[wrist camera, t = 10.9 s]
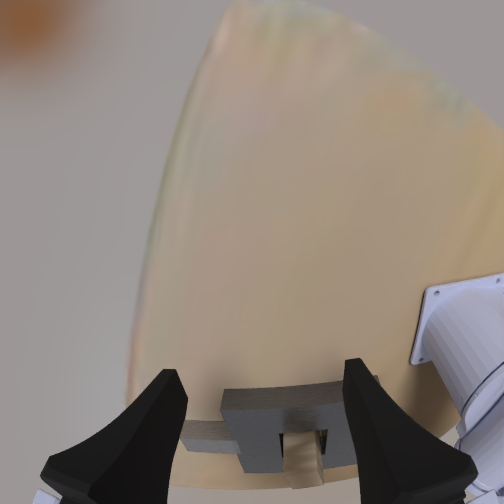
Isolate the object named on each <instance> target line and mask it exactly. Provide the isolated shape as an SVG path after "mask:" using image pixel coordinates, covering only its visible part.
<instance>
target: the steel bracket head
mask: <svg viewBox="0 0 504 504" xmlns="http://www.w3.org/2000/svg"><path fill="white" fill-rule="evenodd" d="M374 378H375V379H376V380H377V382H378V383H379V384H380V382H379V379H378V376H377V375H375V376H374ZM380 386H381V385H380ZM342 388H343V381H337V382H329V383H321V384H312V385H301V386H290V387H275V388H256V389H224V392H223V398H222V403H221V409H220V411H221V413H222V416H223V419H224V422H215V421H193V420H185V421H184V424H183V428H182V431H181V434H180V439H181V441H182V443H183V444H184V446H185V448H186V449H187V451H193V452H206V453H225V454H237V455H238V458H239V460H240V463H241V465H242V468H243V470H244V473H277V472H283V440H282V434H281V433H294V432H306V431H316V430H324V433H323V437H320V445H321V456H322V468H323V469H326V468H334V467H341V466H347V465H353V464H357V458H356V453H355V448H354V445H353V441H352V437H351V433H350V429H349V425H348V421H347V417H346V413H345V408H344V401H343V394H342Z"/></svg>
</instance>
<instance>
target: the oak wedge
mask: <svg viewBox="0 0 504 504" xmlns="http://www.w3.org/2000/svg"><path fill="white" fill-rule="evenodd" d="M283 477H284V478H285V479H286V481H287V482H288V483H289V485H290V486H291V487H292V489H300V488H307V487H314V486H319V485H324V481H323V468H322V456H321V445H320V435H319V430H316V431H306V432H294V433H283Z"/></svg>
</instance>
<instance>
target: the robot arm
mask: <svg viewBox="0 0 504 504" xmlns="http://www.w3.org/2000/svg"><path fill="white" fill-rule="evenodd" d="M496 280H497V281H496ZM436 291H437V293H435V292H436ZM434 293H435V294H434ZM420 358H421V359H420ZM429 361H432V362H433V364H434V365H435V367H436V369H437V371H438V373H439V375H440V377H441V378H442V380H443V382H444V384H445V386H446V388H447V390H448V392H449V394H450V396H451V398H452V400H453V402H454V404H455V406H456V408H457V410H458V412H459V415H460V417H461V421H460V422H459V423H458V425H457V426H456V429H457V431H458V433H459V436H460V438H459V439H458V441H457V442H456V444H455V446H454V448H453V447H452V446H450V445H448V444H446V443H445V442H443V441H441V440H440V439H438V438H437V437H435V436H434V435H432V434H431V433H430V432H428V431H427V430H425V429H424V428H423V427H421V426H420V425H419V424H418V423H416V422H415V421H414V420H413V419H412V418H411V417H410V416H408V415H407V414H406V413H405V412H404V411H403V410H402V409H401V408H400V407H399V406H398V405H397V404H396V403H395V402H394V401H393V400H392V398H391V397H390V396H389V395H388V394H387V393H386V391H385V390H384V389H383V388H382V387H381V386H380V384H379V383H378V382H377V380H376V379H375V378H374V376H373V375H372V374H371V372H370V371H369V370H368V368H367V367H366V365H365V364H364V362H363V361H362V359H360V358H355V359H349V360H345V369H344V379H343V388H342V394H343V401H344V408H345V413H346V417H347V421H348V425H349V429H350V433H351V437H352V441H353V445H354V448H355V453H356V458H357V464H358V473H359V482H360V494H361V504H465V503H464V500H463V499H464V498H465V497H466V494H465V491H464V490H465V489H466V490H467V491H468V492H469V493H471V494H472V495H475V496H477V498H475V499H473V500H471V501H469V502H467V503H466V504H504V273H501V274H496V275H491V276H486V277H481V278H476V279H471V280H466V281H460V282H455V283H449V284H444V285H438V286H432V287H429V288H427V289H426V291H425V293H424V299H423V305H422V310H421V315H420V320H419V325H418V330H417V334H416V339H415V343H414V347H413V351H412V355H411V359H410V362H411V364H412V365H416V364H420V363H425V362H429ZM187 403H188V397H187V395H186V392H185V390H184V388H183V385H182V383H181V381H180V378H179V376H178V373H177V371H176V369H163V370H162V371H161V372H160V373H159V374H158V375H157V376H156V378H155V379H154V380H153V381H152V382H151V383H150V384H149V385H148V387H147V388H146V389H145V390H144V391H143V392H142V393H141V394H140V395H139V396H138V397H137V399H136V400H135V401H134V402H133V403H132V404H131V405H130V406H129V407H128V408H127V409H126V410H125V411H124V412H122V413H121V414H120V415H119V416H118V417H117V418H116V419H115V420H113V421H112V422H111V423H110V424H108V425H107V426H106V427H105V428H103V429H102V430H100V431H99V432H97V433H96V434H94V435H93V436H91V437H90V438H88V439H86V440H85V441H83V442H81V443H80V444H77V445H75V446H73V447H71V448H69V449H67V450H65V451H62V452H60V453H58V454H55V455H52V456H50V457H49V458H48V460H47V462H46V464H45V466H44V468H43V470H42V472H41V474H40V477H41V479H42V480H43V481H44V482H45V483H46V484H48V485H49V486H50V487H51V488H53V489H54V490H55V491H57V492H58V493H59V494H61V495H62V496H63V497H62V499H61V500H60V499H58V498H57V497H55V496H53V495H51V494H49V493H47V492H45V491H43V490H41V489H38V491H37V494H36V496H35V498H34V500H33V502H32V504H167V497H168V488H169V480H170V473H171V467H172V462H173V458H174V454H175V451H176V448H177V444H178V441H179V438H180V434H181V431H182V428H183V424H184V421H185V416H186V410H187Z"/></svg>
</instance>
